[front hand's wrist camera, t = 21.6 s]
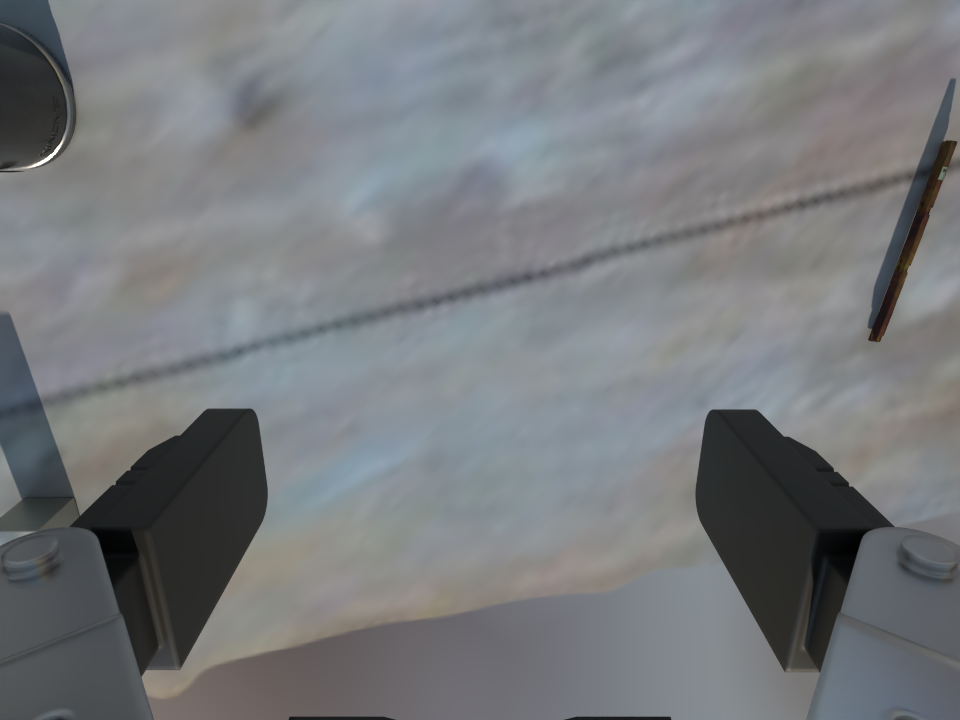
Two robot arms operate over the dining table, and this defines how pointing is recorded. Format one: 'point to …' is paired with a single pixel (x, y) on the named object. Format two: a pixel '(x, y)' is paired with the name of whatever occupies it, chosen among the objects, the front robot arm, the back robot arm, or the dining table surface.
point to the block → (37, 517)
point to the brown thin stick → (913, 239)
